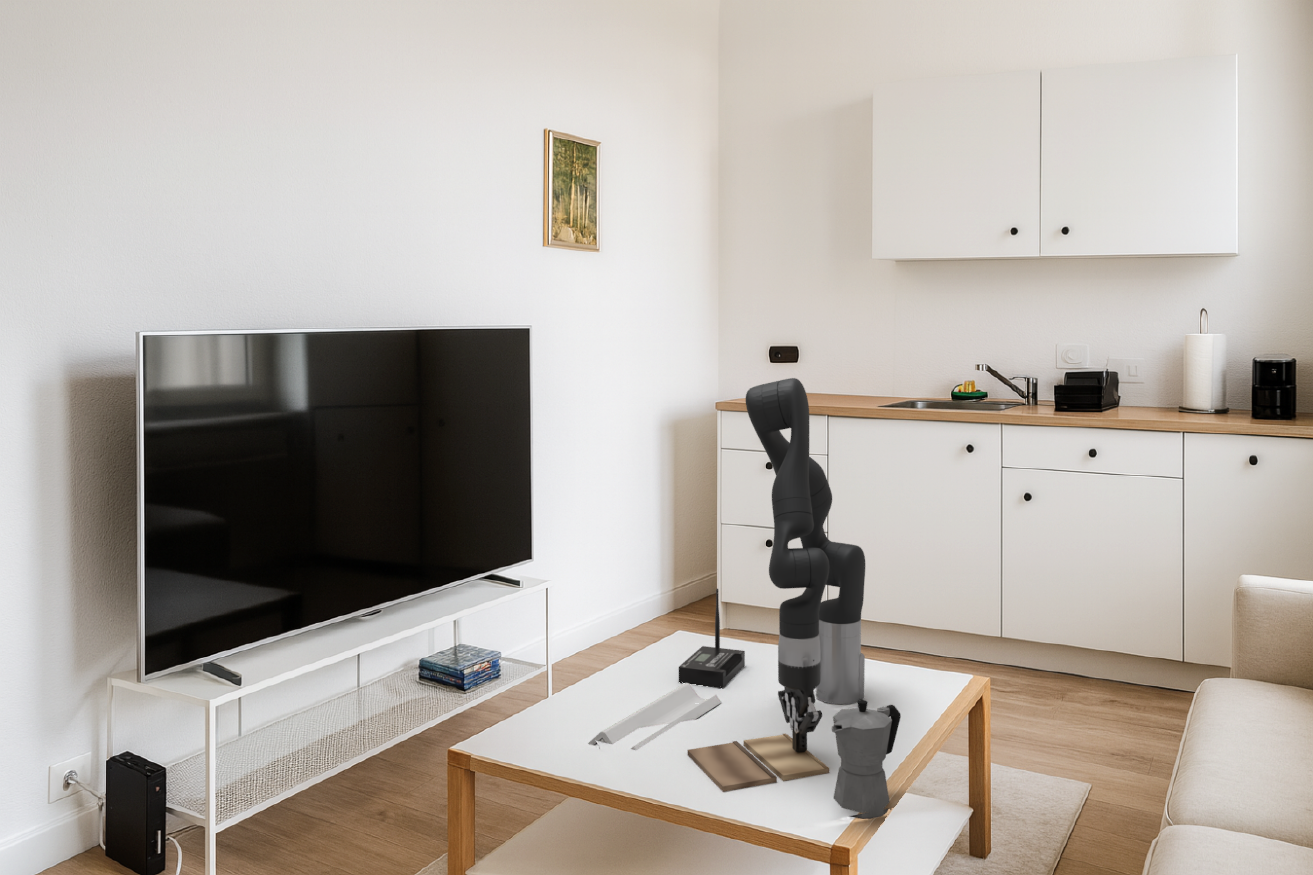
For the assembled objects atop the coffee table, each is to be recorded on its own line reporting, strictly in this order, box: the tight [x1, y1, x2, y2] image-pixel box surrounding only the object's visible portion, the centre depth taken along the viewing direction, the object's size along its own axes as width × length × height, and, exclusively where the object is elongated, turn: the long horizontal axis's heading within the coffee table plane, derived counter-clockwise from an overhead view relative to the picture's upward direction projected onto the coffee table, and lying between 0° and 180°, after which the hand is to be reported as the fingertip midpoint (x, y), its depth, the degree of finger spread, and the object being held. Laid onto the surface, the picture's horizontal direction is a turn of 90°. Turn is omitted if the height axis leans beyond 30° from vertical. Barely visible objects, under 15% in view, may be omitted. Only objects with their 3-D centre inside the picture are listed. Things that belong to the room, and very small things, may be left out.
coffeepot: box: [831, 699, 902, 820], centre depth 166 cm, size 15×9×18 cm, turn 125°
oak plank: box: [742, 733, 830, 782], centre depth 183 cm, size 16×9×2 cm, turn 20°
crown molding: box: [587, 683, 722, 751], centre depth 203 cm, size 31×12×4 cm, turn 147°
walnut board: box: [687, 740, 778, 793], centre depth 179 cm, size 10×16×2 cm, turn 20°
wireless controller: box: [678, 588, 746, 689], centre depth 232 cm, size 20×14×17 cm
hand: (799, 750), depth 184 cm, fingers closed
